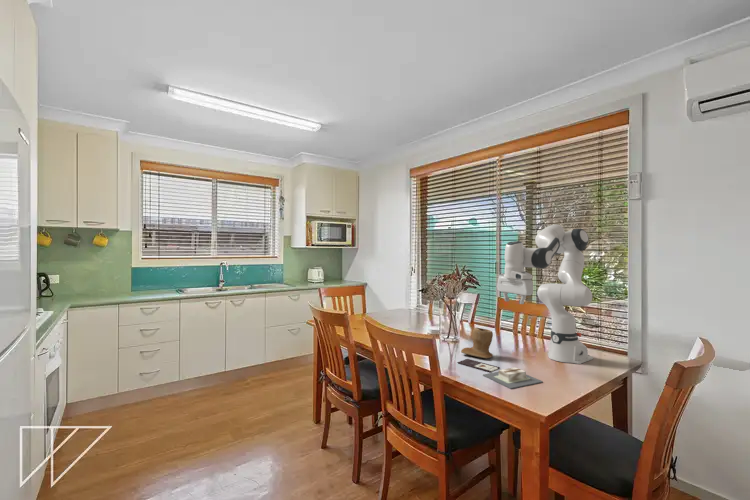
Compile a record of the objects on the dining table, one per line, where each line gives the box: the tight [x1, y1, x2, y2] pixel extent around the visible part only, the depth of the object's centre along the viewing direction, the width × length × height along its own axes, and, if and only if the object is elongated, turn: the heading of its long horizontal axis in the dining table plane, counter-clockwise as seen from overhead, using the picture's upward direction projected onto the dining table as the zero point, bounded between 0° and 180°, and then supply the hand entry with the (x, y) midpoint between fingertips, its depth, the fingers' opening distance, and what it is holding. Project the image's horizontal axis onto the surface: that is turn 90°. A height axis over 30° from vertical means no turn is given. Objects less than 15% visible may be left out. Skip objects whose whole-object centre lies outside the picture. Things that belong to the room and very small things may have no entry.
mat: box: [482, 371, 544, 390], centre depth 160 cm, size 18×17×1 cm
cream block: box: [498, 367, 527, 382], centre depth 160 cm, size 10×6×3 cm, turn 113°
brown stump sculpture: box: [461, 327, 494, 359], centre depth 193 cm, size 15×12×15 cm
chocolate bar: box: [456, 358, 500, 373], centre depth 177 cm, size 9×1×18 cm
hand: (514, 302), depth 177 cm, fingers open, 8 cm apart
